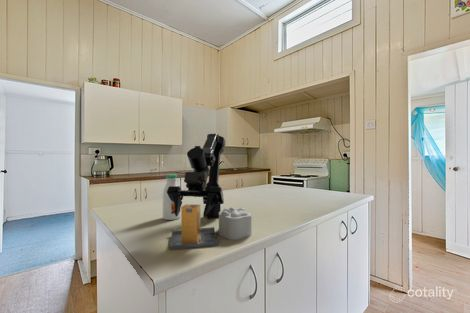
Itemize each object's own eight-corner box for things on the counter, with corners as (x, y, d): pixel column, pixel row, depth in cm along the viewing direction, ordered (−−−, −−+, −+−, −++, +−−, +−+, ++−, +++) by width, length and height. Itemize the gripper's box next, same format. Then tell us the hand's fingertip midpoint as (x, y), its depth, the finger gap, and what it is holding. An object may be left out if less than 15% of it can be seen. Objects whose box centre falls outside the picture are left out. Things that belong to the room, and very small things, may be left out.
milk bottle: (164, 221, 96) (164, 175, 96) (161, 217, 103) (161, 174, 103) (182, 219, 100) (181, 174, 100) (178, 215, 107) (177, 173, 107)
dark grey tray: (214, 232, 82) (214, 227, 82) (218, 245, 70) (218, 239, 70) (172, 236, 78) (172, 230, 78) (169, 250, 67) (169, 243, 67)
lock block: (186, 237, 74) (185, 204, 74) (200, 237, 73) (200, 204, 73) (181, 242, 70) (181, 207, 70) (196, 242, 69) (196, 207, 69)
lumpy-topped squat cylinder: (231, 241, 74) (231, 215, 74) (212, 230, 84) (212, 207, 84) (255, 234, 80) (255, 210, 80) (234, 225, 90) (234, 204, 90)
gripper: (168, 163, 77) (153, 201, 66) (221, 163, 74) (214, 202, 64) (177, 182, 85) (165, 220, 74) (225, 183, 82) (220, 221, 71)
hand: (189, 216), depth 70 cm, fingers open, 9 cm apart
